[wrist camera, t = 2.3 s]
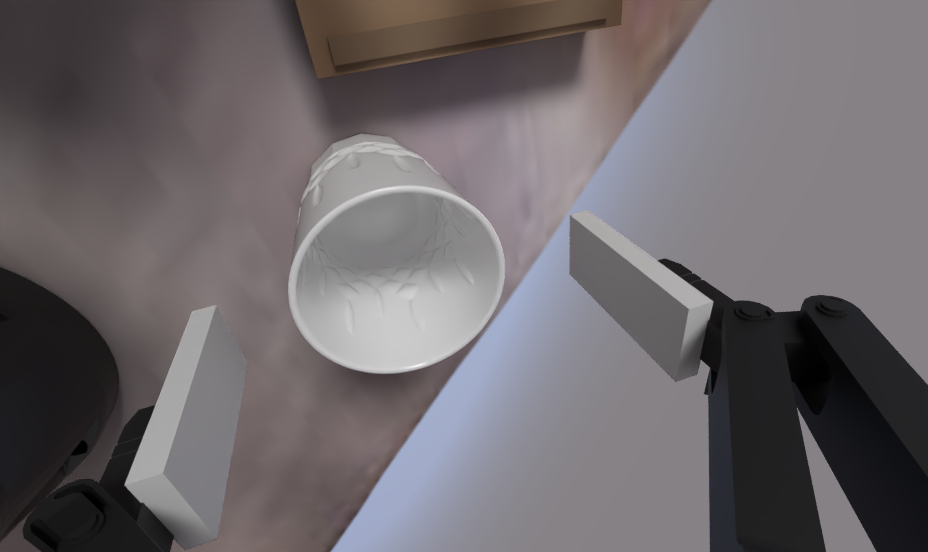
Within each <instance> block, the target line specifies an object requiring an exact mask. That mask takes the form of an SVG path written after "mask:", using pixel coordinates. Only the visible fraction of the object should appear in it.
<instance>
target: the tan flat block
mask: <svg viewBox="0 0 928 552" xmlns="http://www.w3.org/2000/svg"><path fill="white" fill-rule="evenodd" d="M295 2H296V5H297V9H298V12H299V16H300V19H301V23H302V26H303V30H304V34H305V37H306V41H307V44H308V48H309V51H310V55H311V58H312V62H313V65H314V69H315V73H316V76H317V79H321V78H327V77H332V76H338V75H344V74H349V73H355V72H360V71H366V70H371V69H377V68H383V67H388V66H394V65H399V64H405V63H410V62H416V61H422V60H427V59H433V58H438V57H444V56H450V55H455V54H461V53H466V52H472V51H477V50H483V49H489V48H494V47H500V46H505V45H511V44H516V43H522V42H528V41H533V40H539V39H544V38H550V37H555V36H561V35H567V34H572V33H578V32H583V31H589V30H595V29H600V28H606V27H611V26H617V25H621V15H622V0H295Z"/></svg>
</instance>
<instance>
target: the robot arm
mask: <svg viewBox="0 0 928 552" xmlns="http://www.w3.org/2000/svg"><path fill="white" fill-rule="evenodd" d="M570 275H571V276H572V277H573V278H574V279H575V280H576V281H577V282H578V283H579V284H580V285H581V286H582V287H583V288H584V289H585V290H586V291H587V292H588V293H589V294H590V295H591V296H592V297H593V298H594V299H595V300H596V301H597V302H598V303H599V304H600V305H601V306H602V307H603V309H605V311H606V312H607V313H608V314H610V316H611V317H612V318H613V319H614V320H615V321H616V322H617V323H618V324H619V325H620V326H621V327H622V328H623V329H624V330H625V331H626V332H627V333H628V334H629V335H630V336H631V337H632V338H633V339H634V340H635V341H636V342H637V343H638V344H639V345H640V346H641V347H642V348H643V349H644V350H645V351H646V352H647V353H648V354H649V355H650V356H651V358H652V359H653V360H655V361H656V363H657V364H658V365H659V366H660V367H661V368H662V369H663V370H664V371H665V372H666V373H667V374H668V375H669V376H670V377H671V378H672V379H673V380H674V381H675V382H677V381H680V380H682V379H685V378H688V377H691V376H694V375H697V374H698V369H699V365H700V360H702V361H703V362H704V363H706V364H707V365H708V366H709V367H710V371H709V375H708V379H707V383H706V388H705V392H704V394H706V395H708V400H709V401H708V403H709V502H710V552H826V549H825V544H824V539H823V534H822V529H821V525H820V520H819V515H818V510H817V505H816V500H815V495H814V490H813V485H812V480H811V475H810V470H809V466H808V460H807V456H806V451H805V446H804V441H803V436H802V431H801V426H800V421H799V416H798V411H797V408H798V410H799V411H800V413H801V415H802V417H803V418H804V420H805V422H806V424H807V426H808V428H809V430H810V431H811V433H812V435H813V437H814V439H815V441H816V442H817V444H818V446H819V448H820V449H821V451H822V453H823V455H824V457H825V459H826V460H827V462H828V464H829V466H830V468H831V470H832V471H833V473H834V475H835V477H836V479H837V480H838V482H839V484H840V486H841V488H842V490H843V491H844V493H845V495H846V497H847V498H848V500H849V502H850V504H851V506H852V508H853V509H854V511H855V513H856V515H857V517H858V519H859V520H860V522H861V524H862V526H863V528H864V529H865V531H866V533H867V535H868V537H869V538H870V540H871V542H872V544H873V546H874V548H875V550H876V551H877V552H928V385H927V384H926V383H925V382H924V380H923V379H922V378H921V377H920V376H919V375H918V374H917V373H916V371H915V370H914V369H913V368H912V367H911V366H910V365H909V364H908V363H907V361H906V360H905V359H904V358H903V357H902V356H901V355H900V354H899V353H898V351H897V350H896V349H895V348H894V347H893V346H892V345H891V344H890V342H889V341H888V340H887V339H886V338H885V337H884V336H883V335H882V334H881V332H880V331H879V330H878V329H877V328H876V327H875V326H874V325H873V323H872V322H871V321H870V320H869V319H868V318H867V317H866V316H865V315H864V314H863V312H862V311H861V310H860V309H859V308H857V307H856V306H855V305H854V304H852V303H850V302H848V301H846V300H844V299H841V298H838V297H833V296H825V295H817V296H811V297H809V298H806V299H805V300H804V302H803V304H802V307H801V310H800V311H793V312H774V311H773V310H772V309H770V308H769V307H767V306H765V305H762V304H760V303H756V302H752V301H733V300H732V299H730V298H729V297H728V296H726V295H725V294H723V293H722V292H720V291H719V290H717V289H716V288H714V287H713V286H711V285H710V284H708V283H707V282H706V281H704V280H701V278H700V277H699V276H697V275H696V274H692V272H691V271H690V270H688V269H687V268H685V267H684V266H682V265H681V264H679V263H676V262H673V261H670V260H668V259H662V260H658V261H657V260H655V259H654V258H653V257H651V256H650V255H649V254H647V253H646V252H644V251H643V250H642V249H640V248H639V247H638V246H636V245H635V244H633V243H632V242H631V241H629V240H628V239H627V238H625V237H623V236H622V235H621V234H619V233H618V232H617V231H615V230H614V229H613V228H611V227H610V226H609V225H607V224H606V223H604V222H603V221H602V220H600V219H599V218H598V217H596V216H595V215H593V214H592V213H591V212H589V211H588V210H587V211H583V212H579V213H575V214H571V215H570ZM247 366H248V364H247V362H246V360H245V358H244V356H243V354H242V352H241V350H240V349H239V347H238V345H237V343H236V341H235V339H234V337H233V335H232V334H231V332H230V330H229V328H228V326H227V324H226V322H225V320H224V319H223V317H222V315H221V313H220V311H219V309H218V307H217V305H214V306H210V307H207V308H203V309H199V310H195V311H192V313H191V316H190V318H189V321H188V323H187V326H186V329H185V331H184V334H183V336H182V339H181V341H180V344H179V347H178V349H177V352H176V354H175V357H174V359H173V362H172V364H171V367H170V370H169V372H168V375H167V377H166V380H165V382H164V385H163V387H162V390H161V393H160V395H159V398H158V400H157V403H156V405H154V406H151V407H147V408H144V409H140V410H138V412H137V413H136V414H135V415H134V416H133V417H132V418H131V420H130V421H129V422H128V423H127V424H126V425H125V427H124V429H123V431H122V433H121V436H120V438H119V440H118V442H117V443H118V446H116V447H115V449H114V451H113V454H112V456H111V457H112V459H110V460H109V463H108V465H107V467H106V469H105V472H104V474H103V476H102V478H101V481H100V483H98V482H96V481H94V480H92V479H82V480H77V481H74V482H72V483H69V484H66V485H64V486H63V487H61V488H59V489H58V490H56V491H54V492H53V493H51V492H52V491H53V490H54V489H55V488H56V487H57V486H58V485H59V484H60V483H61V482H62V481H63V479H64V478H65V477H66V476H68V475H69V474H70V473H71V472H72V471H73V470H74V469H75V468H76V467H77V466H78V465H79V464H80V463H81V462H82V461H83V460H84V459H85V458H86V457H87V455H88V454H89V453H90V451H91V450H92V449H93V447H94V446H95V444H96V443H97V441H98V439H99V437H100V436H101V433H102V431H103V429H104V427H105V425H106V423H107V421H108V419H109V417H110V414H111V412H112V410H113V408H114V405H115V402H116V398H117V392H118V377H117V371H116V366H115V363H114V360H113V358H112V355H111V353H110V351H109V349H108V347H107V346H106V344H105V342H104V341H103V339H102V338H101V336H100V335H99V334H98V332H97V331H96V330H95V329H94V328H93V326H92V325H91V324H90V323H89V322H88V321H87V320H86V319H85V318H84V317H83V316H82V315H81V314H79V313H78V312H77V311H76V310H75V309H74V308H72V307H71V306H70V305H69V304H67V303H66V302H65V301H63V300H62V299H60V298H59V297H57V296H56V295H54V294H53V293H51V292H50V291H48V290H46V289H45V288H43V287H41V286H39V285H37V284H36V283H34V282H32V281H30V280H28V279H26V278H24V277H22V276H20V275H18V274H15V273H13V272H11V271H8V270H6V269H4V268H1V267H0V542H1V541H2V540H3V539H4V538H5V537H6V536H7V535H8V534H9V533H10V532H11V531H12V530H13V529H14V528H15V527H16V526H17V525H18V524H19V523H20V522H21V521H22V520H23V519H24V518H25V517H26V516H27V515H28V514H29V513H30V512H31V511H32V510H33V511H32V513H31V514H30V515H29V516H28V518H27V520H26V522H25V525H24V527H23V536H24V538H25V539H26V540H27V541H29V542H30V543H31V544H33V545H34V546H35V547H36V548H38V549H39V550H40V551H41V552H170V549H171V545H172V542H173V538H174V539H175V540H176V542H177V543H178V544H179V545H180V546H181V547H182V548H183V549H184V550H186V549H189V548H192V547H195V546H198V545H201V544H204V543H207V542H210V541H213V540H216V539H217V537H218V531H219V526H220V520H221V514H222V509H223V503H224V497H225V491H226V486H227V480H228V474H229V469H230V463H231V457H232V452H233V446H234V440H235V435H236V429H237V423H238V417H239V412H240V406H241V400H242V395H243V389H244V383H245V378H246V372H247ZM50 493H51V494H50ZM49 494H50V495H49ZM48 495H49V496H48ZM47 496H48V497H47Z"/></svg>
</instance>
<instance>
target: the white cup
mask: <svg viewBox="0 0 928 552" xmlns="http://www.w3.org/2000/svg"><path fill="white" fill-rule="evenodd" d="M504 280H505V259H504V253H503V249H502V246H501V243H500V240H499V238H498V236H497V234H496V232H495V230H494V228H493V227H492V225H491V224H490V222H489V221H488V220H487V219H486V217H485V216H484V215H483V214H482V213H481V212H480V211H479V210H478V209H477V208H476V207H474V206H473V205H472V204H471V203H470V202H469V201H468V200H467V199H466V198H465V197H464V196H463V195H462V194H461V193H460V192H459V191H458V190H457V189H456V188H455V187H454V186H453V185H452V184H451V183H450V182H449V181H448V180H447V179H446V178H445V177H444V176H443V175H442V174H440V173H439V172H438V171H437V170H436V169H435V168H434V167H432V166H431V165H430V164H429V163H428V162H427V161H425V160H424V159H423V158H422V157H420V156H419V155H417V154H416V153H415V152H414V151H412V150H411V149H409V148H408V147H406V146H404V145H403V144H401V143H400V142H398V141H397V140H395V139H393V138H392V137H388V136H379V135H370V134H358V135H355V136H352V137H349V138H347V139H344V140H341V141H338V142H335V143H333V144H331V145H330V146H329V148H328V149H327V150H326V151H325V152H324V153H323V154H322V155H321V156H320V157H319V158H318V159H317V160H316V161H315V162H314V163H313V164H312V166H311V170H310V174H309V177H308V181H307V185H306V189H305V190H304V193H303V196H302V200H301V205H300V209H299V214H298V219H297V225H296V233H295V240H294V248H293V255H292V261H291V268H290V274H289V281H288V298H289V305H290V309H291V313H292V316H293V319H294V321H295V323H296V325H297V327H298V329H299V331H300V332H301V334H302V335H303V337H304V338H305V339H306V340H307V342H308V343H309V344H310V345H311V346H312V347H313V348H314V349H315V350H317V351H318V352H319V353H320V354H322V355H323V356H324V357H326V358H328V359H329V360H331V361H333V362H335V363H337V364H339V365H341V366H344V367H347V368H350V369H353V370H357V371H361V372H367V373H375V374H394V373H403V372H409V371H414V370H418V369H421V368H425V367H427V366H430V365H433V364H435V363H438V362H440V361H442V360H444V359H446V358H448V357H449V356H451V355H453V354H454V353H456V352H457V351H459V350H460V349H462V348H463V347H464V346H466V345H467V344H468V343H469V342H470V341H471V340H472V339H474V338H475V337H476V336H477V334H478V333H479V332H480V331H481V330H482V329H483V328H484V326H485V325H486V324H487V322H488V321H489V319H490V318H491V316H492V314H493V313H494V311H495V309H496V307H497V305H498V302H499V300H500V297H501V294H502V290H503V286H504Z"/></svg>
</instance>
